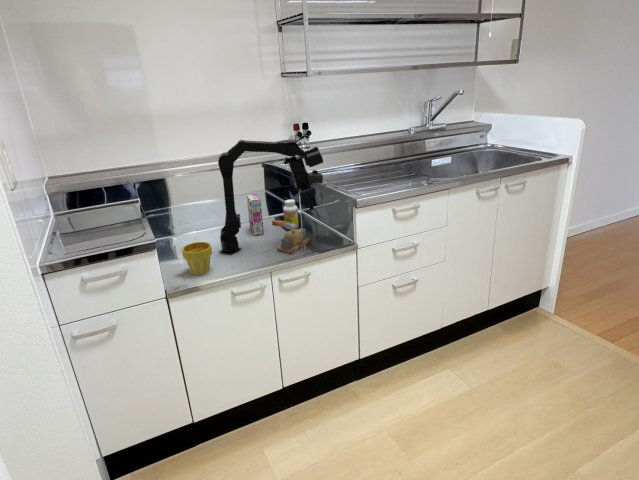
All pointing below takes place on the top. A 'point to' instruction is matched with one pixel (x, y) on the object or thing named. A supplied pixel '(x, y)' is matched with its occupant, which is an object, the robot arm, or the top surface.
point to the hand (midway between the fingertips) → (310, 206)
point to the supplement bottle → (290, 213)
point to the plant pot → (198, 256)
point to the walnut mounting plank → (294, 247)
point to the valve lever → (283, 224)
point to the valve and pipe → (293, 238)
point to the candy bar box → (255, 214)
